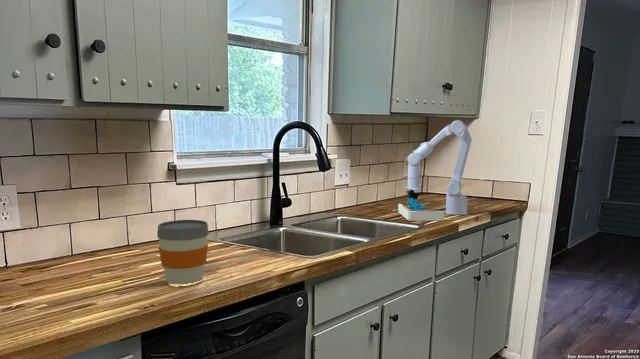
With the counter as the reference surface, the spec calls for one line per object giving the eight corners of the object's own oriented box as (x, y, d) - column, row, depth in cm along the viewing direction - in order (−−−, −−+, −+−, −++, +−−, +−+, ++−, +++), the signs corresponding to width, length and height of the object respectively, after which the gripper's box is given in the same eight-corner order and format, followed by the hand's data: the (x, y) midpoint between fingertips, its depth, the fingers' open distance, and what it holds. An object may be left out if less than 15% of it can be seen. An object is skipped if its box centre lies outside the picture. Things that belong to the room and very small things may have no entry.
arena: (430, 211, 223) (430, 203, 222) (443, 220, 200) (444, 210, 200) (398, 211, 222) (398, 203, 222) (408, 220, 200) (408, 211, 199)
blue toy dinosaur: (414, 213, 209) (405, 196, 215) (406, 221, 212) (398, 204, 218) (431, 214, 215) (421, 197, 221) (423, 221, 219) (414, 205, 224)
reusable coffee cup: (191, 271, 126) (190, 217, 125) (219, 280, 118) (218, 223, 117) (149, 282, 117) (147, 224, 115) (176, 293, 109) (175, 231, 107)
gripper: (402, 176, 230) (401, 203, 231) (408, 179, 215) (408, 207, 217) (416, 176, 230) (415, 203, 231) (423, 179, 215) (422, 207, 217)
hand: (413, 205), depth 224 cm, fingers closed
